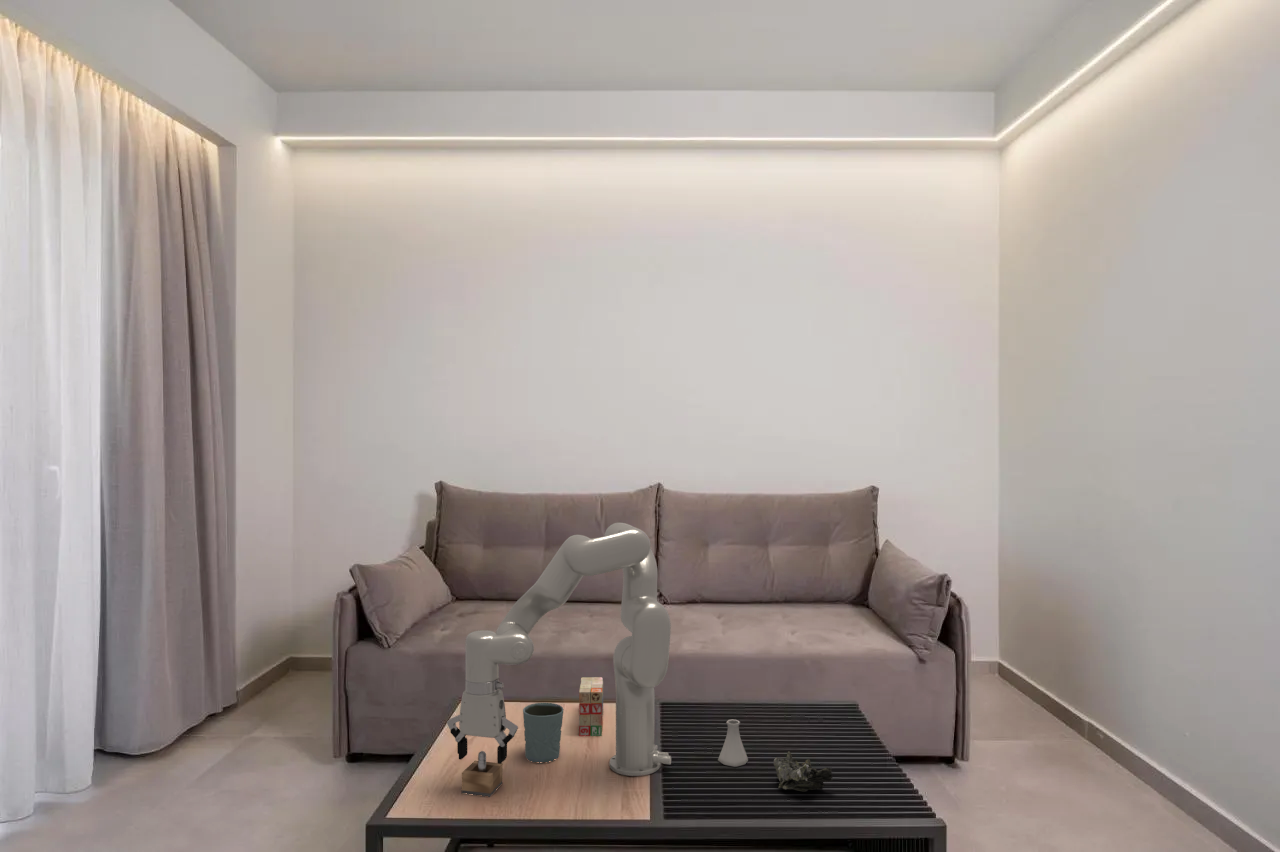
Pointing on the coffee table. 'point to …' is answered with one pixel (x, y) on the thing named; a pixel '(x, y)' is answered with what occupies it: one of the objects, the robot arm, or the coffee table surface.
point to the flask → (733, 746)
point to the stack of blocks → (591, 706)
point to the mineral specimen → (800, 774)
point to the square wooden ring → (482, 777)
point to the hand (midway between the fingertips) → (482, 759)
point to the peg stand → (481, 769)
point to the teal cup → (542, 731)
